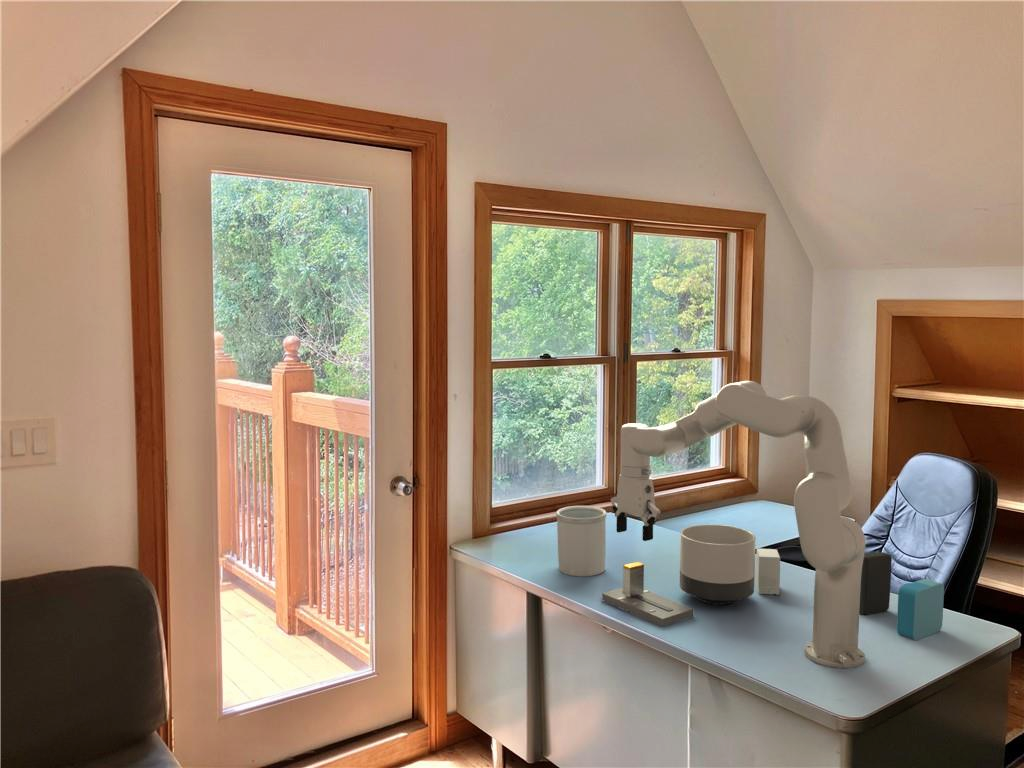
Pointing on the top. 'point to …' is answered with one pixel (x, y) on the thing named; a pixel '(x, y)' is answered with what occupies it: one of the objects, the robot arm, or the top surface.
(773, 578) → the small box
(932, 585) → the data package
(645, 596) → the console board
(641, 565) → the fader tab
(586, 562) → the utensil holder
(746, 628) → the top surface
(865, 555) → the card reader
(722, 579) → the planter
